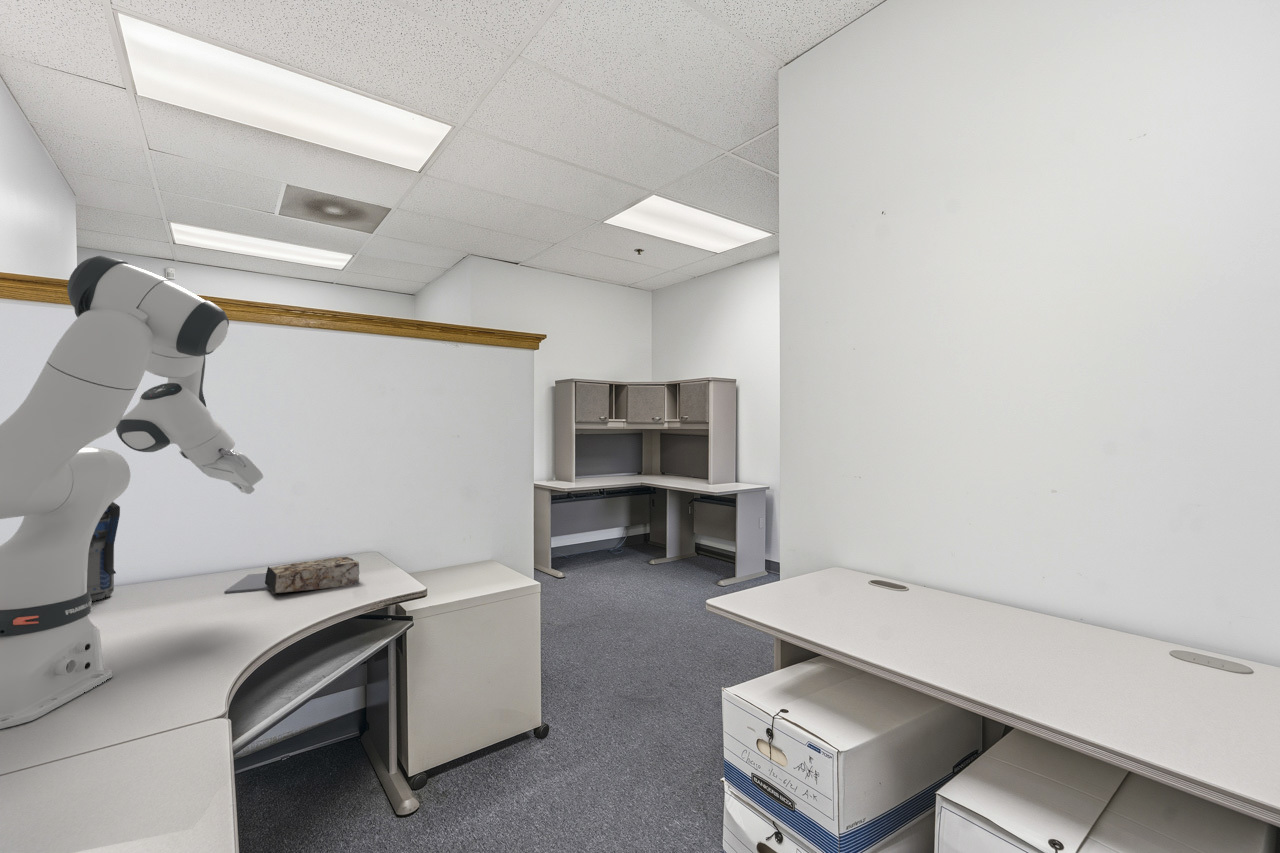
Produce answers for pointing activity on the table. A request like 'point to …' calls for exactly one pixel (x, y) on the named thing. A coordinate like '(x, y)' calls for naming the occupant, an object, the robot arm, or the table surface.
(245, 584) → the mat
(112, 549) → the grey blue tall cylinder
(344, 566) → the stone block
